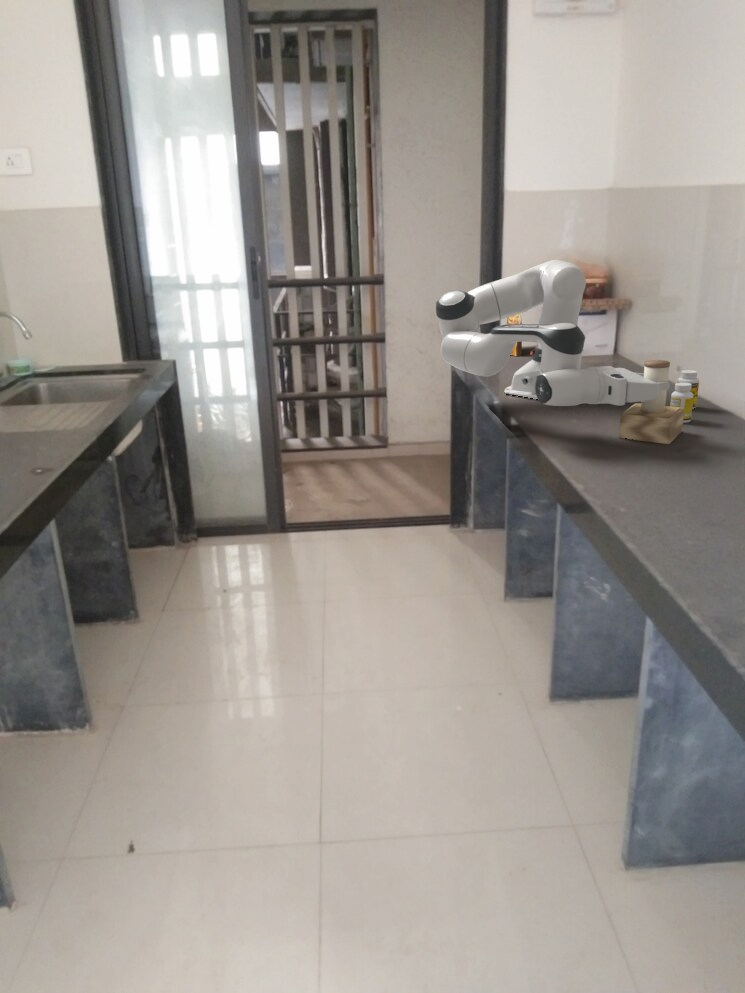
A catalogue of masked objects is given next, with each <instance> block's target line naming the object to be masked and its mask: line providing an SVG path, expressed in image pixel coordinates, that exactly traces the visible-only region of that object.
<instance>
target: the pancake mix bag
mask: <svg viewBox="0 0 745 993" xmlns="http://www.w3.org/2000/svg"><path fill="white" fill-rule="evenodd" d="M522 315H523V313H520V314H517V315H514V316H511V317H508V318H506V325H509V324H523V323H522V317H523V316H522ZM522 348H523V342H517V343H516V344H515V346H514V348H513V350H512V352H511V355H513V356H512V357H520V356H521V355H522ZM519 355H520V356H519Z"/></svg>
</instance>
